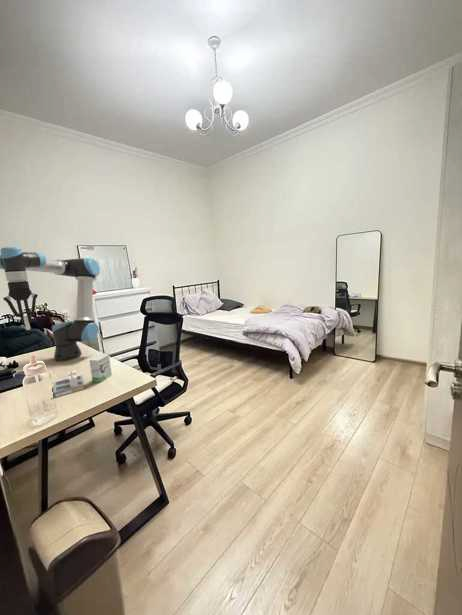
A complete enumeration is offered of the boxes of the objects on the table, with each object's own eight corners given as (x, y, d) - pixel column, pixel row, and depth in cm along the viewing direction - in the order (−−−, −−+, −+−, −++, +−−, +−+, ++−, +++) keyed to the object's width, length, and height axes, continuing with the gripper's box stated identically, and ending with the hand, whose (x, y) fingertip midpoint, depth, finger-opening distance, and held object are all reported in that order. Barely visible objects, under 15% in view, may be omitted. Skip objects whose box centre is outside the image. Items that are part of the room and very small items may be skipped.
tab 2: (70, 385, 119) (68, 375, 118) (77, 383, 120) (75, 373, 119) (70, 388, 115) (68, 378, 114) (78, 386, 117) (76, 376, 116)
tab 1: (69, 380, 124) (68, 370, 123) (76, 378, 126) (75, 368, 125) (70, 383, 121) (68, 373, 120) (77, 381, 123) (75, 371, 122)
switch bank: (54, 386, 122) (53, 382, 122) (82, 379, 128) (82, 375, 128) (54, 397, 111) (53, 392, 111) (85, 389, 118) (84, 384, 117)
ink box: (103, 374, 133) (100, 353, 131) (112, 375, 132) (109, 353, 130) (92, 382, 124) (88, 359, 122) (101, 382, 123) (97, 360, 121)
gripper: (-3, 282, 111) (9, 333, 115) (34, 280, 118) (44, 328, 123) (0, 282, 117) (11, 330, 121) (35, 279, 124) (44, 325, 129)
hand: (28, 329), depth 122 cm, fingers closed
